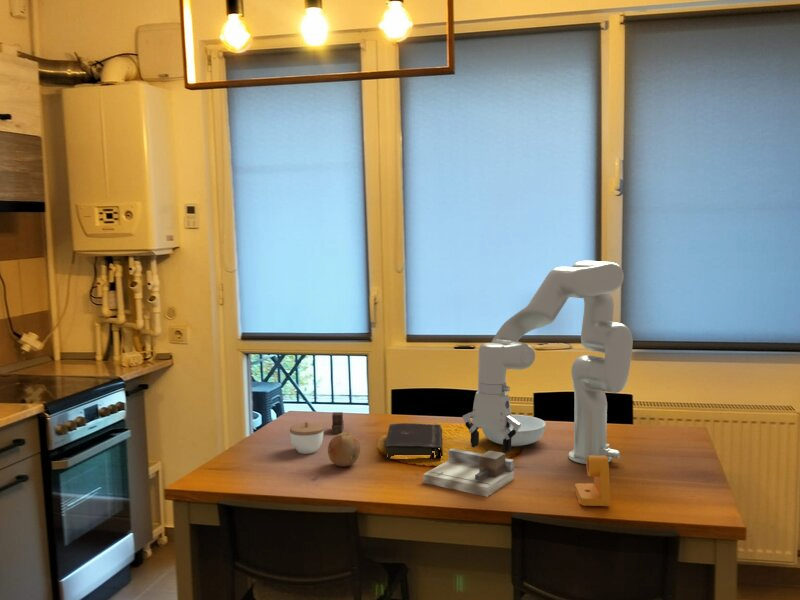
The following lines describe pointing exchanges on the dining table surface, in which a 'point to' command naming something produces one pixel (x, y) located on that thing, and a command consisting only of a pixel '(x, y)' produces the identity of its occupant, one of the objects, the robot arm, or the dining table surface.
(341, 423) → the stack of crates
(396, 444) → the diary
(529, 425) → the serving bowl
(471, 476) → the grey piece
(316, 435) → the lidded jar
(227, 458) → the dining table surface
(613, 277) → the robot arm
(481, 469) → the block
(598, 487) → the bracket
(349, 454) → the onion
